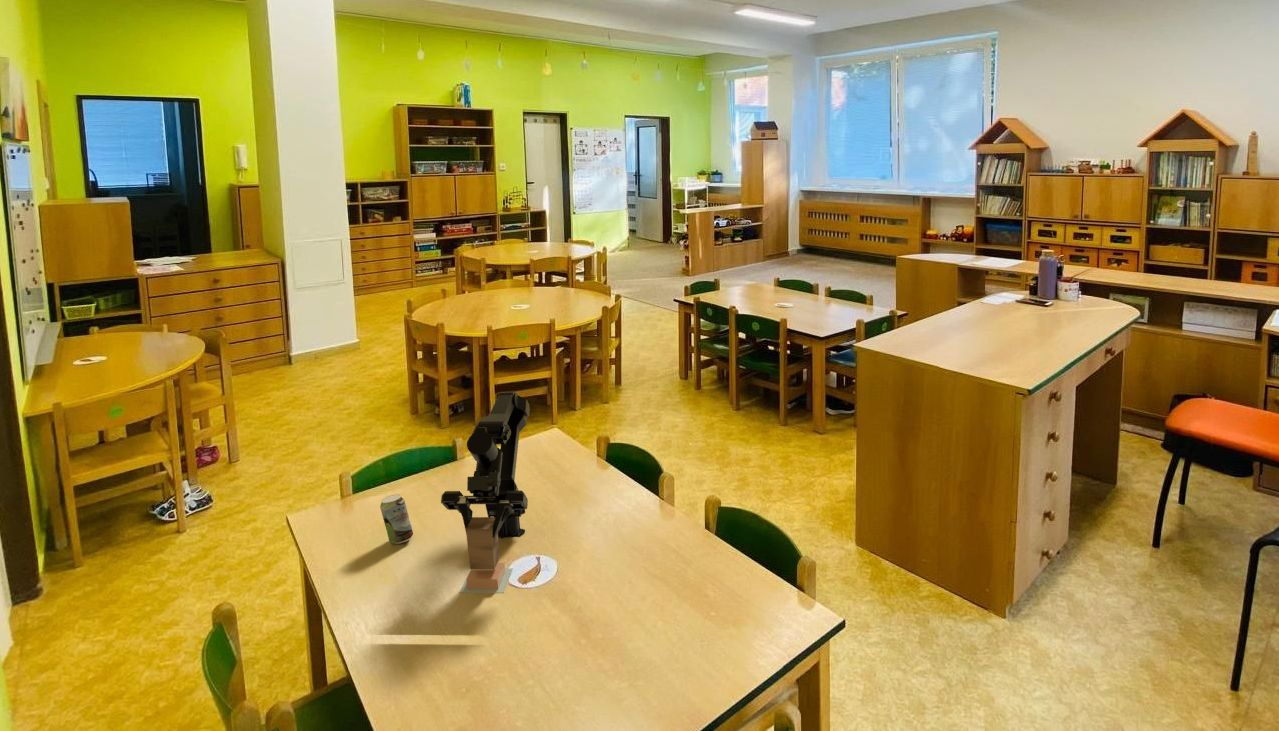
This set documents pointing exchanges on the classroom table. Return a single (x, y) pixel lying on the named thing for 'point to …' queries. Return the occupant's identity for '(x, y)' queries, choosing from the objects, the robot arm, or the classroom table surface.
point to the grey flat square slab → (500, 590)
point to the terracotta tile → (486, 577)
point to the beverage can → (396, 519)
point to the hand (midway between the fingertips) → (480, 537)
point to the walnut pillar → (482, 543)
